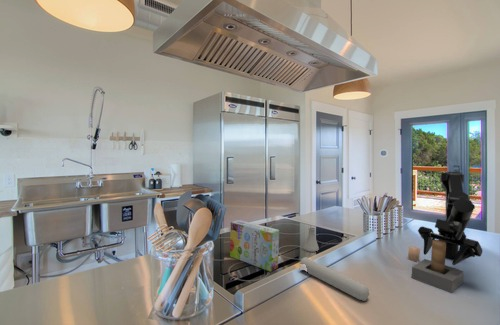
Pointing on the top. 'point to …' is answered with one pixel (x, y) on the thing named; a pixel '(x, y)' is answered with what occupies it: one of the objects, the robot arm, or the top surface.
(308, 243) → the flask
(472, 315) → the top surface
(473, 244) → the robot arm
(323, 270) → the tube
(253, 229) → the snack box
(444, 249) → the tall pin
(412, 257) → the short pin
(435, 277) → the grey square socket block
